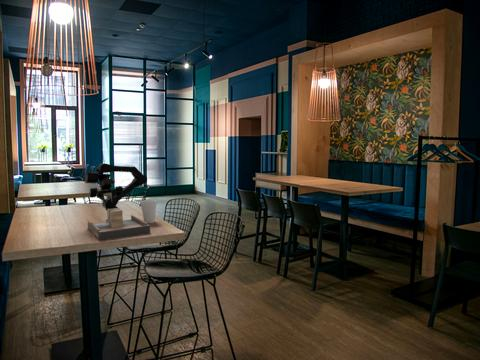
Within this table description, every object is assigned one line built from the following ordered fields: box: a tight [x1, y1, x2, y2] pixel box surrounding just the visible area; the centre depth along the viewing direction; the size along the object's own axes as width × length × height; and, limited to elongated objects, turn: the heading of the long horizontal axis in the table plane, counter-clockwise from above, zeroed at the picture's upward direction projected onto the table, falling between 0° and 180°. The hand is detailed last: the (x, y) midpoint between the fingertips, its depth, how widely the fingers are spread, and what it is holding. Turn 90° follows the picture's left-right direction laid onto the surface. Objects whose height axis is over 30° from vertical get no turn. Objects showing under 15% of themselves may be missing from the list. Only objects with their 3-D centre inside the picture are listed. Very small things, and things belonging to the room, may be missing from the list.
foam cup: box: [140, 199, 158, 224], centre depth 240 cm, size 10×9×13 cm
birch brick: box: [106, 207, 124, 228], centre depth 223 cm, size 10×6×9 cm, turn 31°
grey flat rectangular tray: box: [87, 215, 151, 241], centre depth 219 cm, size 33×26×4 cm
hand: (109, 202), depth 232 cm, fingers open, 4 cm apart
